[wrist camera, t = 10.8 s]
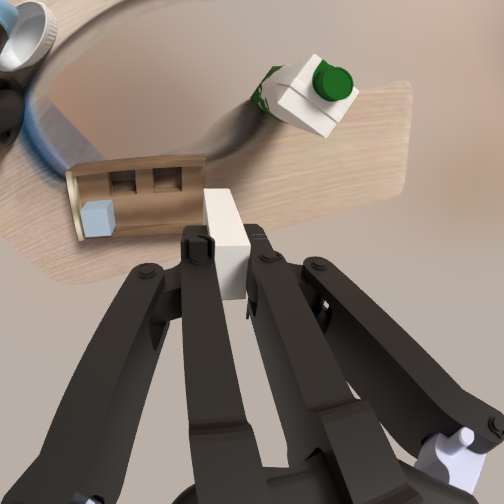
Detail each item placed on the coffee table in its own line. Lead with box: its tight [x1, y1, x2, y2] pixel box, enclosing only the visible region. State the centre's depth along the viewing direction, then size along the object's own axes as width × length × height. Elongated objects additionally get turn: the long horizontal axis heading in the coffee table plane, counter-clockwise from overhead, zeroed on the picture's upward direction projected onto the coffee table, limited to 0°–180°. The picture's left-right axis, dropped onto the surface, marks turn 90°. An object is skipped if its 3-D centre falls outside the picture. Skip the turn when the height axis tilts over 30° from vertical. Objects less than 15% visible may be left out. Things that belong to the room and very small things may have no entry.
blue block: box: [80, 200, 116, 237], centre depth 44 cm, size 5×5×4 cm
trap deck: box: [66, 154, 206, 241], centre depth 46 cm, size 13×24×5 cm, turn 87°
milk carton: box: [250, 54, 359, 138], centre depth 35 cm, size 9×9×20 cm
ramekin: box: [0, 0, 57, 72], centre depth 24 cm, size 13×13×7 cm
